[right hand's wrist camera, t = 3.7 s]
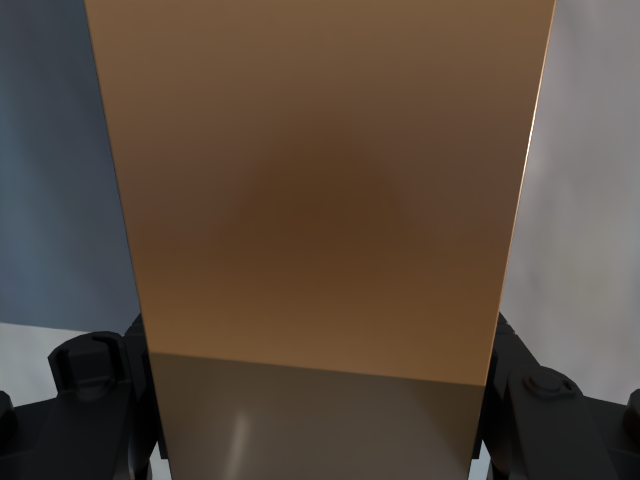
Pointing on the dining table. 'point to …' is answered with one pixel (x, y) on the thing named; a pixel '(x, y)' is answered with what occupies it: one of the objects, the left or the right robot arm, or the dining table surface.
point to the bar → (319, 221)
